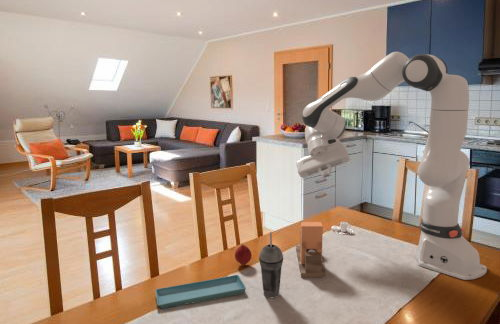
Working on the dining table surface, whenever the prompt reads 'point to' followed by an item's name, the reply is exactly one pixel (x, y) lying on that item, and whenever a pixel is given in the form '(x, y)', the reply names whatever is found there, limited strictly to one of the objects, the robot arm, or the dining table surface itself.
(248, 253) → the onion
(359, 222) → the dining table surface
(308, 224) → the orange angular piece
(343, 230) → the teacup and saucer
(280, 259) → the beverage cup
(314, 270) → the pipe rig
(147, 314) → the dining table surface
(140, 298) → the dining table surface
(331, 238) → the dining table surface
